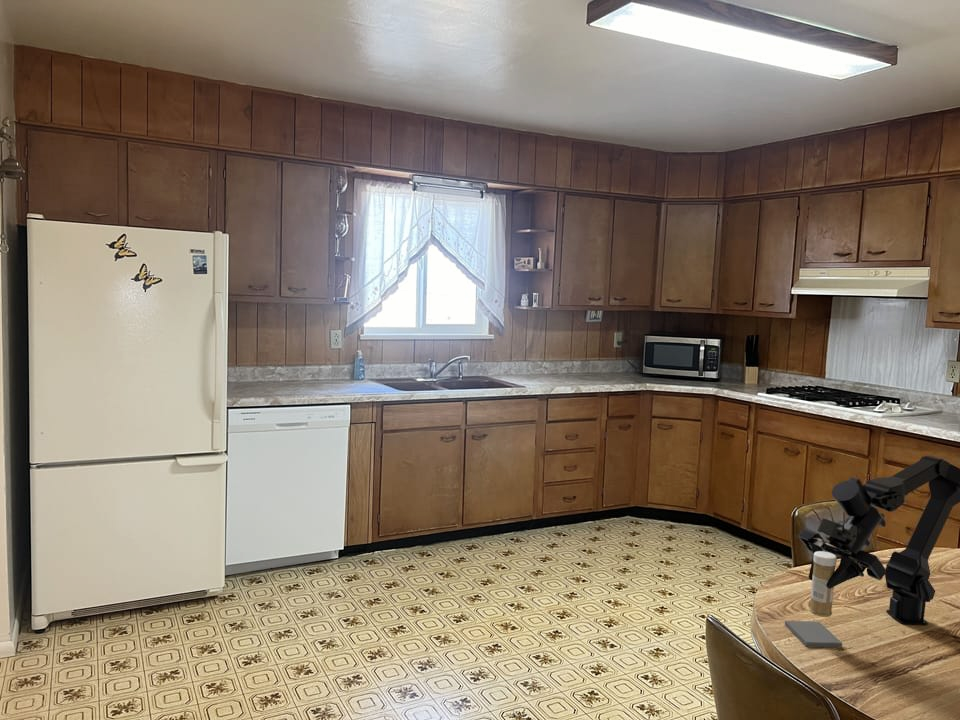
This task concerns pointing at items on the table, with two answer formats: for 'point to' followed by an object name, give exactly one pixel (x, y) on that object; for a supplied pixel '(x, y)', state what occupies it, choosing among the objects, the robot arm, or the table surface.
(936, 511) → the robot arm
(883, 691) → the table surface
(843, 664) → the table surface
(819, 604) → the sprinkles bottle
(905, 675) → the table surface
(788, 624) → the slate tile
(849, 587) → the table surface
